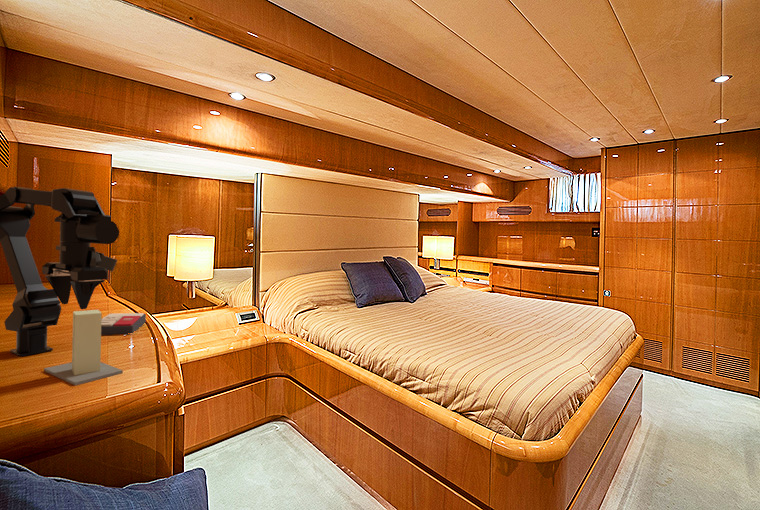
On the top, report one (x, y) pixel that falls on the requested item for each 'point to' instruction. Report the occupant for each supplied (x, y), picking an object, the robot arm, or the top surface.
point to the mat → (68, 375)
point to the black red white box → (122, 323)
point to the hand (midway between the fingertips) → (74, 306)
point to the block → (86, 341)
